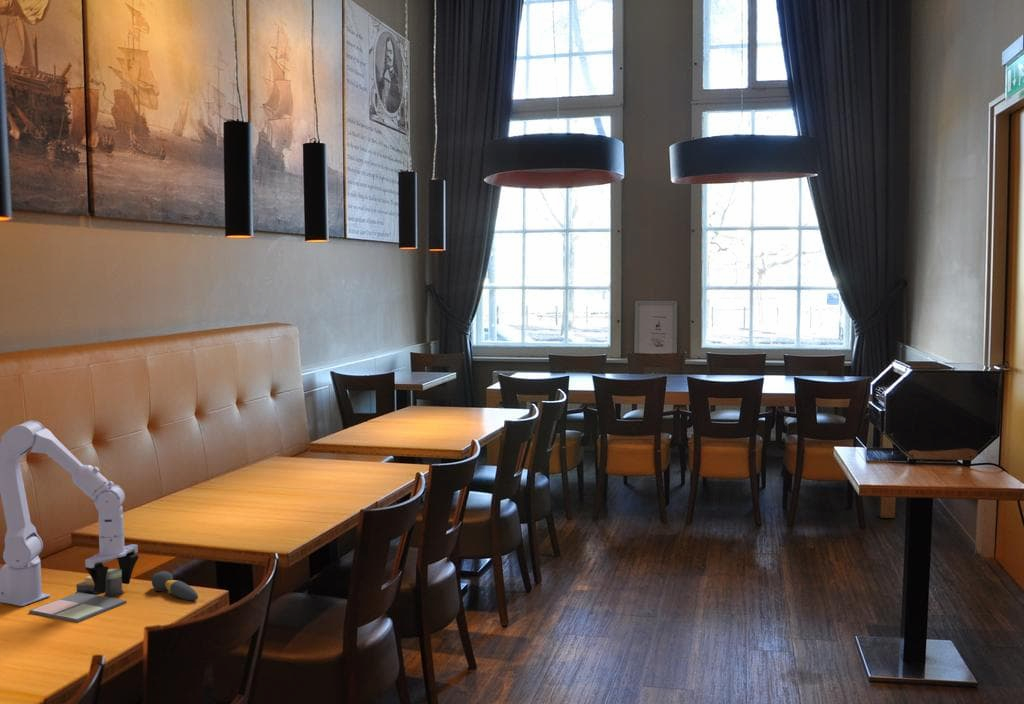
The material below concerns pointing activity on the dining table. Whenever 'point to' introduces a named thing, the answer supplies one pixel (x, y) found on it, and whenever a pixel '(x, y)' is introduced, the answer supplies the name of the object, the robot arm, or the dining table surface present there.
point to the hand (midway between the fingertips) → (113, 587)
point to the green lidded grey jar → (113, 582)
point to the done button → (89, 581)
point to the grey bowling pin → (173, 586)
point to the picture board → (77, 607)
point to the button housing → (86, 588)
